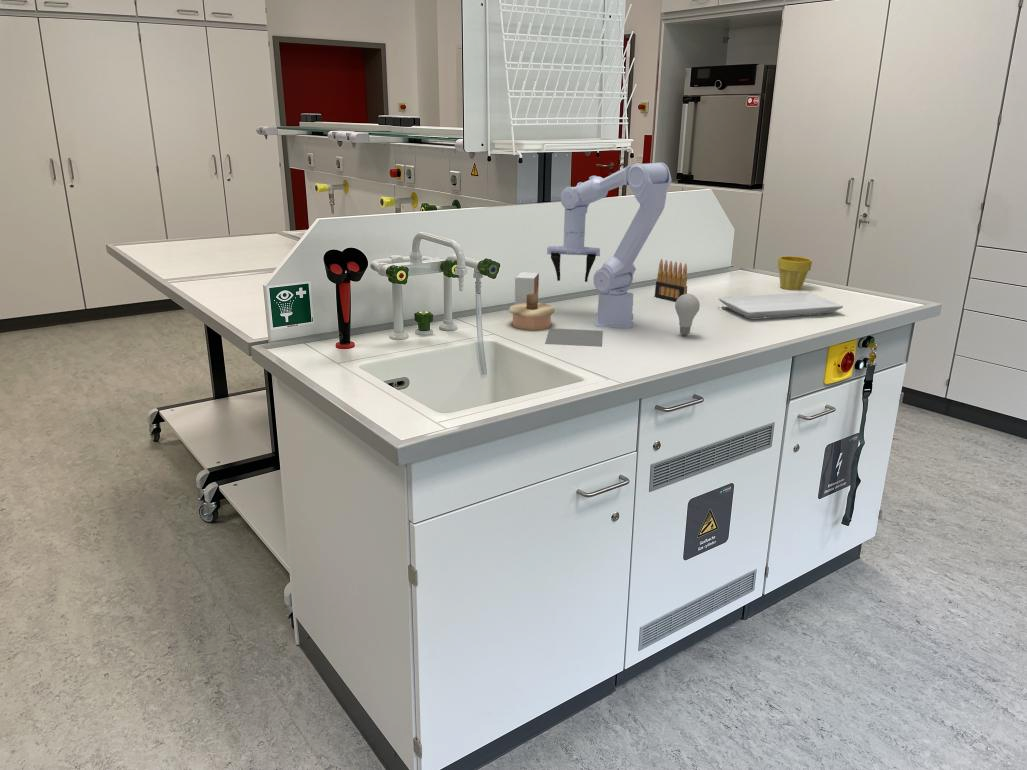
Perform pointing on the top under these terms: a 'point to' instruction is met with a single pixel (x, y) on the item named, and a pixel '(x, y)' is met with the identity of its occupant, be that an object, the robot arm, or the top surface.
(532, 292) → the small box
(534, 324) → the bowl
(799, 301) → the tray
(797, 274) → the plant pot
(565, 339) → the mat
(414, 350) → the top surface
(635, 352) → the top surface
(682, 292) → the ammunition clip
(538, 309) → the lid
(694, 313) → the lightbulb
